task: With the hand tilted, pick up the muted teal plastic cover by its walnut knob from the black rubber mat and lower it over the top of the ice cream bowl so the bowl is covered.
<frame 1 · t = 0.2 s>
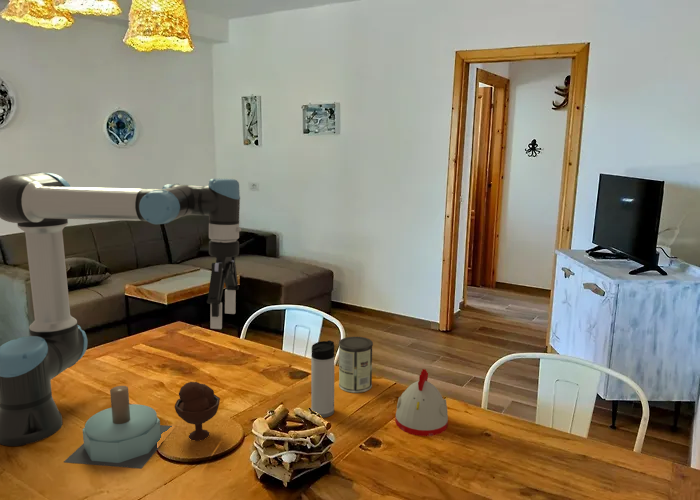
hand: (223, 320, 145), 28 cm above the table, tool pointing down, fingers open, 13 cm apart
travel mug: (323, 412, 154), on the table
kitchen timer: (421, 423, 149), on the table
mat: (123, 444, 137), on the table
ice cream bowl: (199, 437, 141), on the table
lid: (123, 443, 136), resting on mat
coffee can: (355, 386, 171), on the table
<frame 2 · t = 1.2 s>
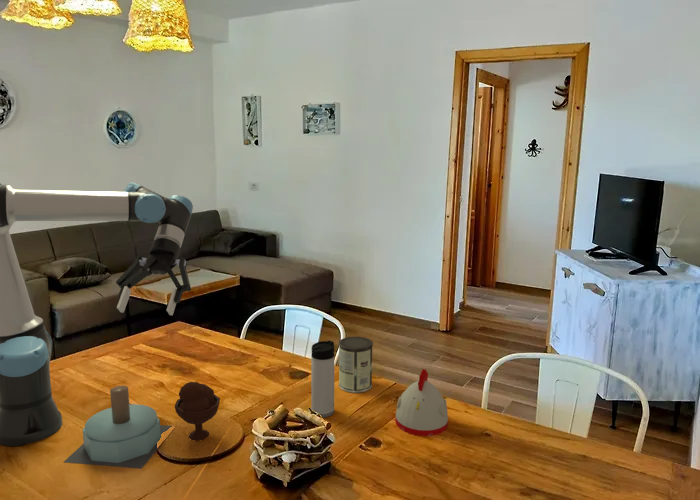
hand: (144, 311, 145), 30 cm above the table, tool tilted 45°, fingers open, 13 cm apart
nothing on the table moved.
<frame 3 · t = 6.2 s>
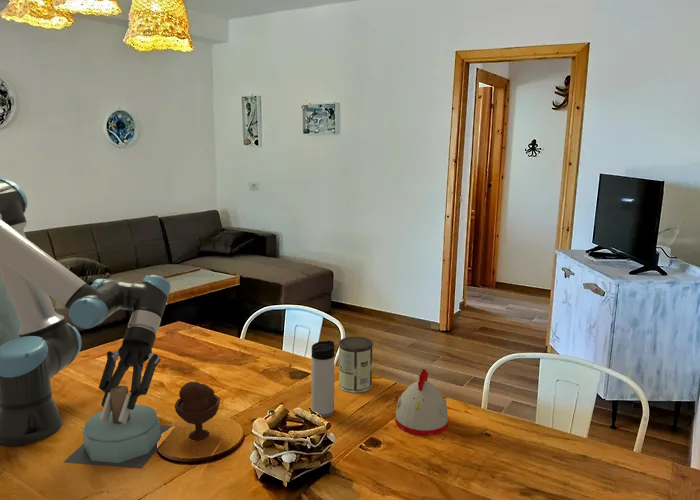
hand: (112, 421, 131), 8 cm above the table, tool tilted 45°, fingers closed on lid, 4 cm apart
lid: (123, 443, 136), resting on mat, touching gripper
everything else where it was.
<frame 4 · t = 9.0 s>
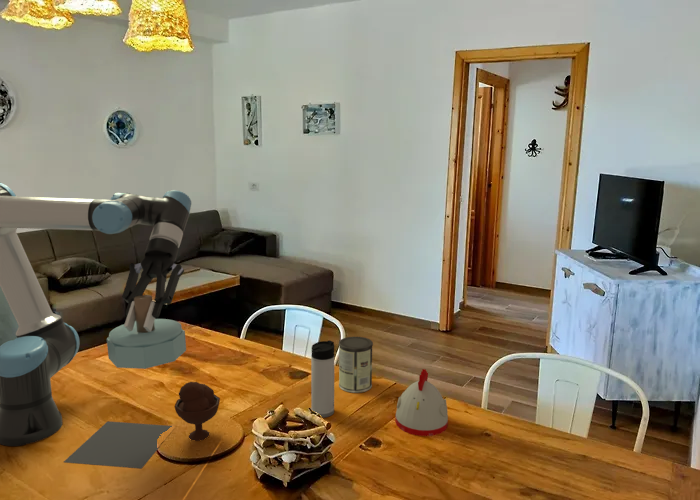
hand: (137, 328, 128), 31 cm above the table, tool tilted 45°, fingers closed on lid, 4 cm apart
lid: (148, 354, 133), point 23 cm above the table, touching gripper
everything else where it was.
when the fingers open (19 cm above the table, at t = 12.2 s): lid drops 1 cm, resting on ice cream bowl.
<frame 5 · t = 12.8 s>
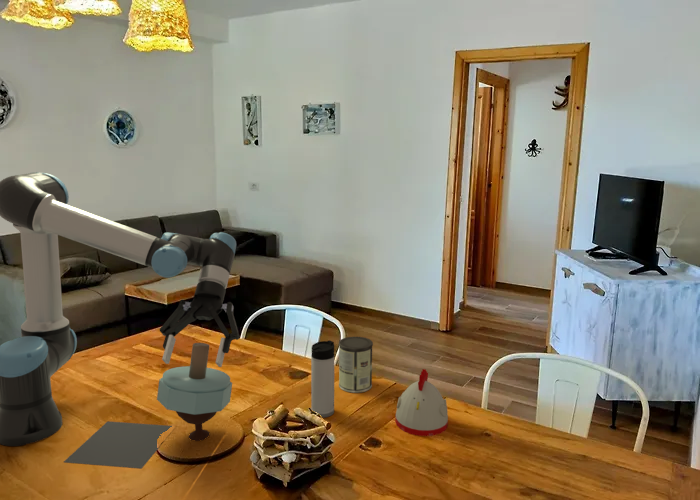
hand: (191, 363, 134), 21 cm above the table, tool tilted 45°, fingers open, 13 cm apart
ice cream bowl: (199, 437, 141), on the table, touching lid
lid: (194, 400, 138), point 10 cm above the table, tilted 10°, touching ice cream bowl
everything else where it was.
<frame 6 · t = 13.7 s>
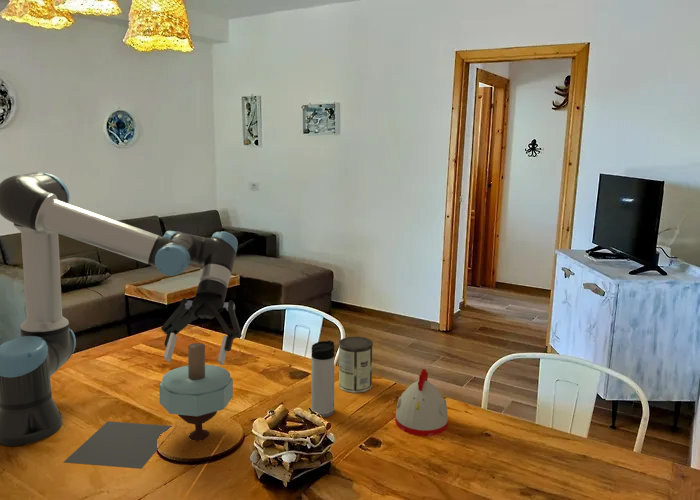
hand: (193, 361, 135), 21 cm above the table, tool tilted 45°, fingers open, 13 cm apart
lid: (196, 400, 138), point 10 cm above the table, touching ice cream bowl
everything else where it was.
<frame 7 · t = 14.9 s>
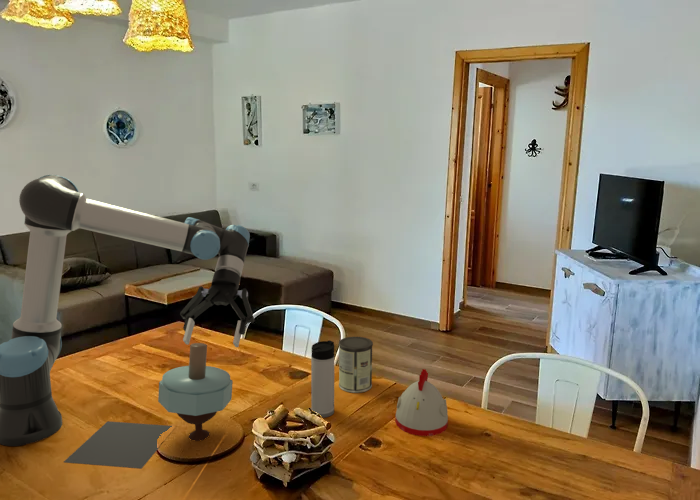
hand: (210, 343, 146), 21 cm above the table, tool tilted 45°, fingers open, 13 cm apart
nothing on the table moved.
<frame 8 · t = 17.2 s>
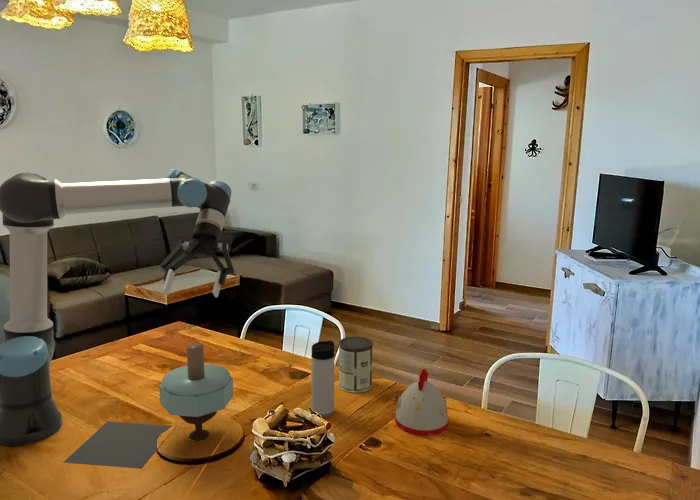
hand: (190, 293, 147), 34 cm above the table, tool tilted 45°, fingers open, 13 cm apart
lid: (197, 400, 139), point 10 cm above the table, touching ice cream bowl
everything else where it was.
at the end: lid 0.1 cm from the ice cream bowl (horizontally); lid point 10.0 cm above the table; lid tilted 0° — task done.
